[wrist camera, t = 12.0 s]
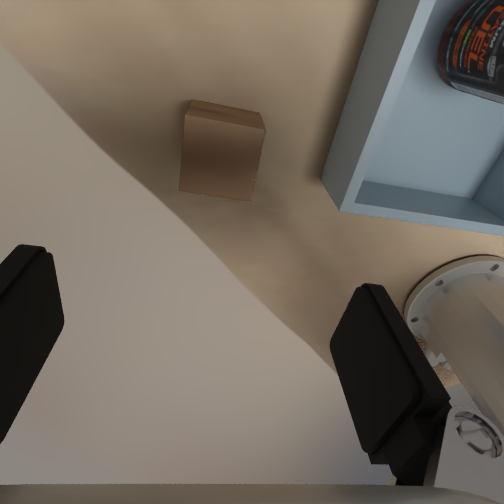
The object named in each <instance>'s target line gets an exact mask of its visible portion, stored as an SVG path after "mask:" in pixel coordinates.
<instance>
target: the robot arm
mask: <svg viewBox="0 0 504 504" xmlns="http://www.w3.org/2000/svg"><path fill="white" fill-rule="evenodd" d="M404 318H405V321H406V323H405V321H404V320H403V318H402V316H401V315H400V313H399V311H398V310H397V308H396V306H395V305H394V303H393V301H392V300H391V298H390V296H389V295H388V293H387V291H386V290H385V288H384V287H383V286H382V285H377V284H368V283H364V284H362V285H361V287H357V288H356V290H355V292H354V294H353V296H352V298H351V300H350V302H349V304H348V306H347V308H346V310H345V312H344V314H343V316H342V318H341V320H340V322H339V324H338V326H337V328H336V330H335V332H334V334H333V336H332V338H331V340H330V351H331V354H332V357H333V360H334V363H335V367H336V370H337V373H338V376H339V379H340V382H341V385H342V388H343V392H344V395H345V397H346V401H347V404H348V407H349V410H350V413H351V416H352V419H353V422H354V426H355V429H356V432H357V435H358V438H359V441H360V444H361V447H362V449H363V451H365V452H366V453H368V456H369V459H370V462H371V464H389V466H390V469H391V471H392V476H391V479H390V483H389V485H340V484H23V485H0V504H504V259H502V258H499V257H494V256H475V257H469V258H465V259H461V260H458V261H455V262H452V263H450V264H448V265H445V266H443V267H442V268H440V269H438V270H436V271H435V272H433V273H432V274H430V275H429V276H428V277H426V278H425V279H424V280H423V281H422V282H421V283H420V284H419V285H418V286H417V287H416V288H415V289H414V290H413V292H412V293H411V295H410V296H409V298H408V300H407V302H406V305H405V309H404ZM406 324H407V325H406ZM63 326H64V314H63V309H62V303H61V298H60V292H59V287H58V282H57V276H56V270H55V265H54V260H53V255H52V254H51V253H49V252H47V251H46V249H45V248H44V247H41V246H32V245H24V244H21V245H18V246H17V247H16V248H15V249H14V250H13V251H12V252H11V253H10V254H9V255H8V256H7V257H6V258H5V260H4V261H3V262H2V263H1V264H0V444H1V442H2V441H3V440H4V438H5V436H6V434H7V432H8V431H9V429H10V427H11V425H12V423H13V421H14V419H15V417H16V416H17V414H18V412H19V410H20V408H21V406H22V404H23V403H24V401H25V399H26V397H27V395H28V393H29V391H30V389H31V387H32V386H33V384H34V382H35V380H36V378H37V376H38V374H39V372H40V370H41V369H42V367H43V365H44V363H45V361H46V359H47V357H48V356H49V353H50V352H51V350H52V348H53V346H54V344H55V342H56V340H57V338H58V337H59V335H60V333H61V331H62V329H63ZM408 327H409V328H408ZM409 329H410V330H409ZM411 332H412V333H413V334H414V335H415V336H416V337H418V338H420V339H422V340H424V341H426V343H427V344H426V346H425V351H426V352H425V354H424V353H423V351H422V350H421V348H420V346H419V345H418V343H417V341H416V340H415V338H414V336H413V335H412V333H411ZM439 362H440V364H441V366H442V367H443V368H445V369H447V370H451V369H452V370H453V371H454V373H455V374H456V376H457V377H458V379H459V380H460V382H461V383H462V385H463V386H464V388H465V389H466V391H467V392H468V394H469V395H470V397H471V399H472V400H473V402H474V403H475V405H476V406H477V407H478V409H479V411H480V412H481V413H480V412H478V411H475V410H474V409H472V408H469V407H465V406H455V407H453V408H452V407H451V405H450V403H449V400H450V399H451V398H450V396H449V394H448V393H447V391H446V390H445V388H444V386H443V384H442V383H441V381H440V380H439V378H438V376H437V375H436V373H435V371H434V370H435V369H436V368H437V365H438V364H439Z"/></svg>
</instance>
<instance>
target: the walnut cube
mask: <svg viewBox="0 0 504 504" xmlns="http://www.w3.org/2000/svg"><path fill="white" fill-rule="evenodd" d="M265 131H266V129H265V127H264V124H263V121H262V119H261V116H260V113H258V112H253V111H248V110H243V109H238V108H233V107H228V106H223V105H218V104H213V103H208V102H203V101H198V100H192V101H191V103H190V105H189V107H188V109H187V111H186V113H185V120H184V133H183V147H182V160H181V173H180V186H179V191H184V192H191V193H197V194H204V195H211V196H217V197H224V198H230V199H237V200H243V201H250V202H251V197H252V192H253V187H254V183H255V178H256V173H257V169H258V164H259V159H260V154H261V150H262V145H263V140H264V136H265Z"/></svg>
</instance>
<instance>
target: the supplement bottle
mask: <svg viewBox="0 0 504 504" xmlns="http://www.w3.org/2000/svg"><path fill="white" fill-rule="evenodd" d="M438 64H439V71H440V73H441V76H442V77H443V79H444V80H445V81H446V83H447V84H448V85H450V86H451V87H452V88H454V89H456V90H459V91H461V92H465V93H468V94H471V95H475V96H478V97H481V98H484V99H487V100H491V101H494V102H497V103H500V104H503V105H504V0H468V1H467V2H466V3H465V4H464V5H463V6H462V7H461V8H460V9H459V10H458V11H457V12H456V14H455V15H454V16H453V18H452V19H451V20H450V22H449V24H448V26H447V28H446V30H445V31H444V33H443V36H442V40H441V42H440V47H439V53H438Z"/></svg>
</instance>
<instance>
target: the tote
mask: <svg viewBox="0 0 504 504" xmlns="http://www.w3.org/2000/svg"><path fill="white" fill-rule="evenodd" d="M467 1H468V0H379V1H378V4H377V7H376V10H375V13H374V16H373V19H372V22H371V25H370V28H369V31H368V34H367V38H366V41H365V44H364V47H363V50H362V53H361V56H360V59H359V62H358V65H357V68H356V71H355V74H354V77H353V80H352V83H351V87H350V90H349V93H348V96H347V99H346V102H345V105H344V108H343V111H342V114H341V117H340V120H339V123H338V126H337V129H336V132H335V135H334V139H333V142H332V145H331V148H330V151H329V154H328V157H327V160H326V163H325V166H324V169H323V172H322V175H321V178H320V180H321V182H322V183H323V185H324V187H325V188H326V190H327V192H328V193H329V195H330V197H331V198H332V200H333V202H334V203H335V205H336V207H337V208H338V210H339V211H341V212H347V213H354V214H361V215H367V216H374V217H380V218H387V219H394V220H400V221H407V222H414V223H420V224H427V225H434V226H440V227H447V228H453V229H460V230H467V231H473V232H480V233H487V234H493V235H500V236H504V105H503V104H500V103H497V102H494V101H491V100H487V99H484V98H481V97H478V96H475V95H471V94H468V93H465V92H461V91H459V90H456V89H454V88H452V87H451V86H450V85H448V84H447V83H446V81H445V80H444V79H443V77H442V76H441V73H440V71H439V64H438V53H439V47H440V42H441V40H442V36H443V33H444V31H445V30H446V28H447V26H448V24H449V22H450V20H451V19H452V18H453V16H454V15H455V14H456V12H457V11H458V10H459V9H460V8H461V7H462V6H463V5H464V4H465V3H466V2H467Z"/></svg>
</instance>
